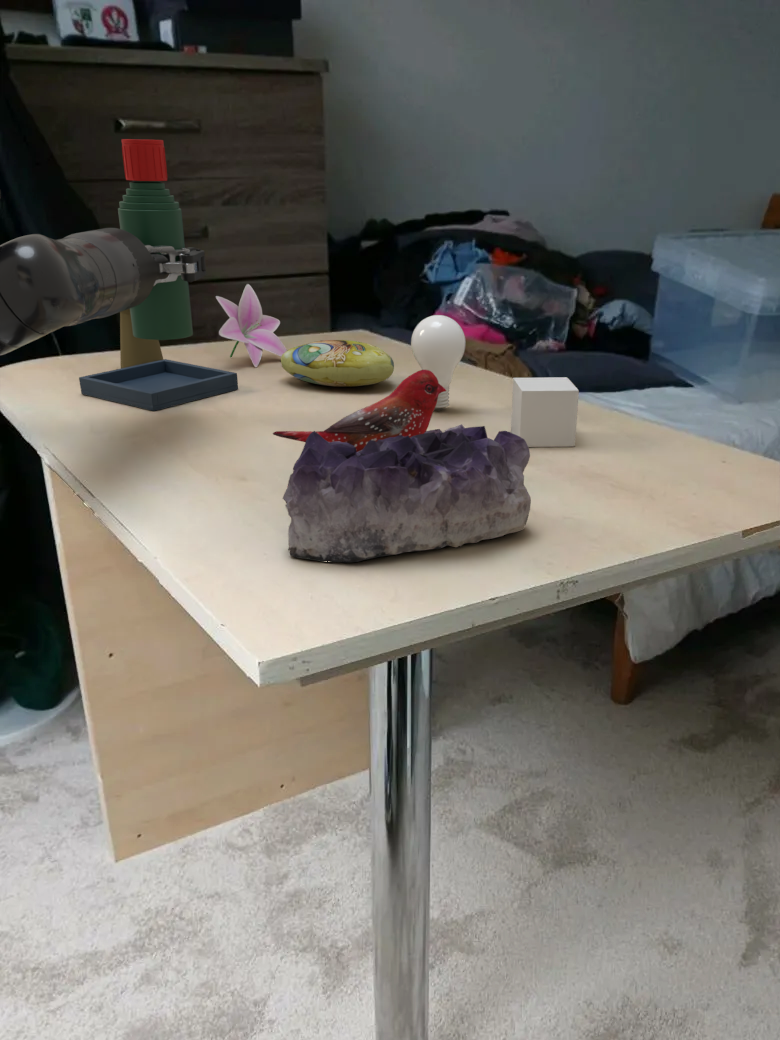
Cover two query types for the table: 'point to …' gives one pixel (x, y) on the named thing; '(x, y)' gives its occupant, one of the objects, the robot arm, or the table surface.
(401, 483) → the geode
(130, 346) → the cork
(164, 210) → the bottle
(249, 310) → the lily
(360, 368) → the painted stone
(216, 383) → the tray
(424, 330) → the lightbulb
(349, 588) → the table surface
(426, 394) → the decorative bird figurine
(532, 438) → the white cube
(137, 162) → the cap
